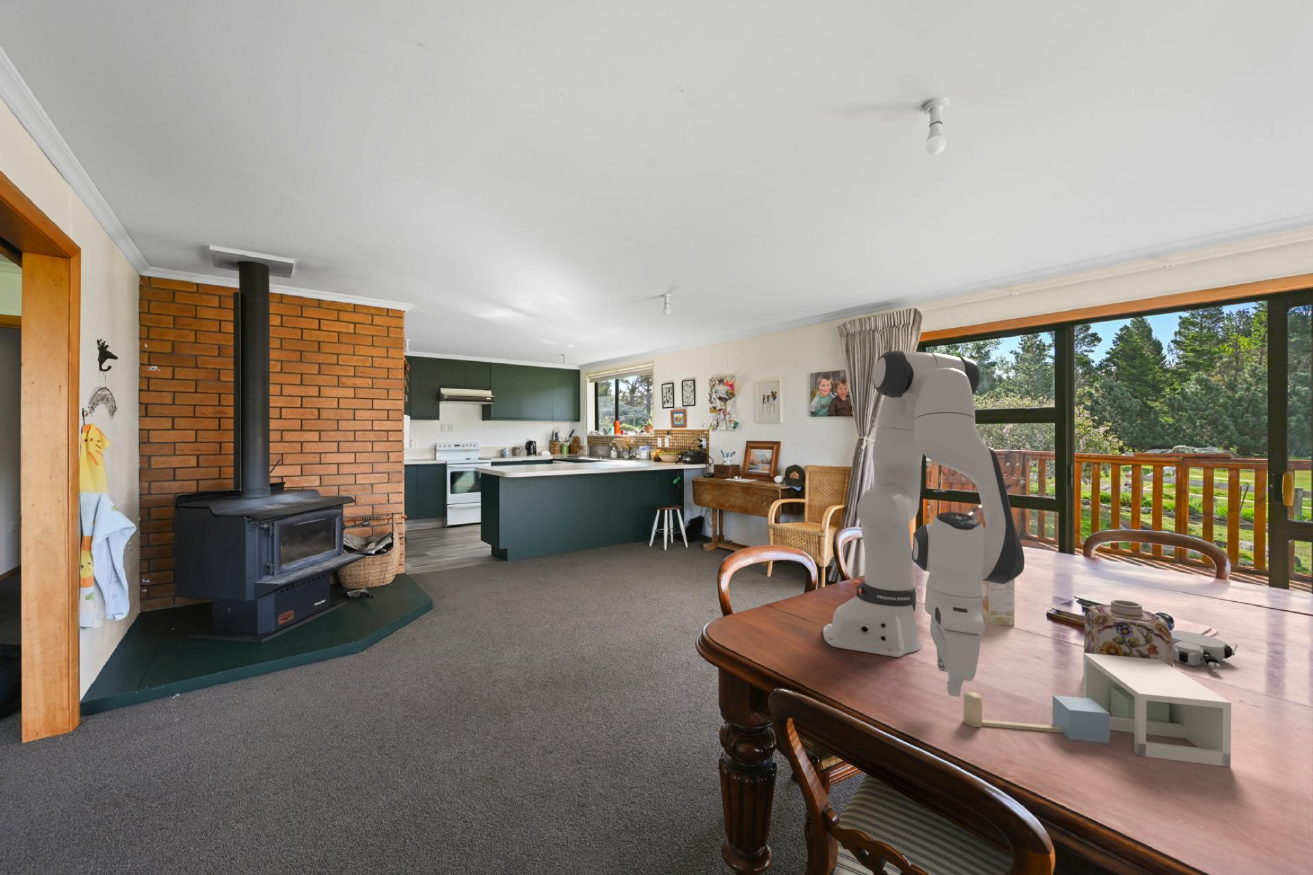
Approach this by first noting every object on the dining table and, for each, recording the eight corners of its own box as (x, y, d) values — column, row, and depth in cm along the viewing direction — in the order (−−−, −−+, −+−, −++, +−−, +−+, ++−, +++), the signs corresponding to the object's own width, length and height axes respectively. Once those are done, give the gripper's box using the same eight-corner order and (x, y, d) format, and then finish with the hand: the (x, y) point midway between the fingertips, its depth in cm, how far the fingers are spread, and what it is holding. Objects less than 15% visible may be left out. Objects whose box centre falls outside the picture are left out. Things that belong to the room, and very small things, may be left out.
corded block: (969, 730, 92) (970, 701, 91) (958, 715, 96) (958, 687, 96) (1109, 743, 88) (1109, 713, 88) (1090, 726, 93) (1090, 698, 93)
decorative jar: (1174, 714, 97) (1175, 616, 97) (1092, 697, 103) (1093, 605, 103) (1156, 687, 107) (1157, 599, 107) (1083, 673, 113) (1083, 590, 113)
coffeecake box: (962, 606, 157) (963, 541, 157) (988, 607, 156) (989, 542, 156) (987, 624, 142) (987, 552, 142) (1015, 626, 141) (1016, 553, 141)
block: (1127, 728, 92) (1128, 699, 92) (1110, 713, 97) (1110, 686, 97) (1168, 732, 91) (1169, 704, 91) (1149, 717, 96) (1149, 690, 96)
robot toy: (1222, 681, 112) (1238, 660, 120) (1222, 661, 112) (1238, 640, 120) (1145, 661, 122) (1165, 642, 130) (1145, 641, 122) (1165, 624, 130)
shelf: (1138, 755, 84) (1138, 693, 84) (1083, 705, 100) (1083, 652, 100) (1230, 766, 82) (1231, 702, 81) (1158, 713, 97) (1159, 659, 97)
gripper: (924, 586, 105) (920, 654, 105) (943, 622, 86) (938, 705, 86) (960, 590, 103) (955, 660, 103) (988, 629, 84) (982, 714, 84)
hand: (947, 681), depth 95 cm, fingers open, 8 cm apart
